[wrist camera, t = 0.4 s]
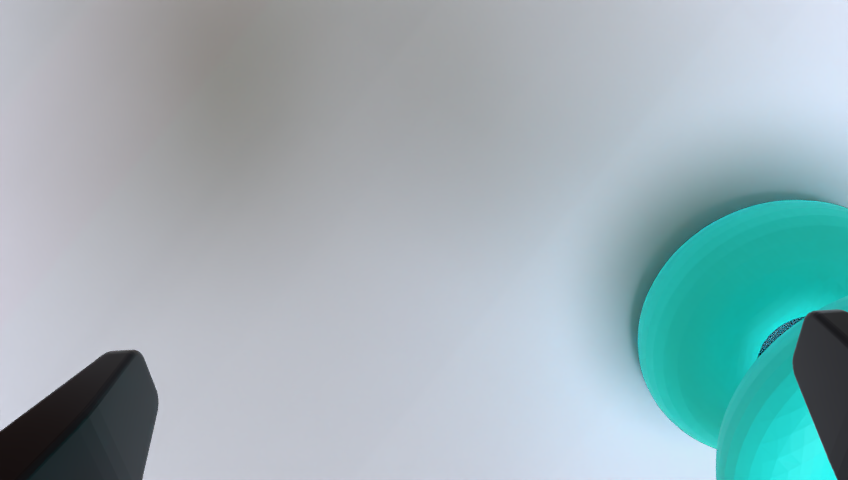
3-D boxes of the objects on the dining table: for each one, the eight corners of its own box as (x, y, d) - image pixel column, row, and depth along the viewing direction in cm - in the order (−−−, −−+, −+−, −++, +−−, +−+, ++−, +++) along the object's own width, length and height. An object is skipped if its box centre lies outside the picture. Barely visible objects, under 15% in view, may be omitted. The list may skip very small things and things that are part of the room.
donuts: (1033, 218, 14) (1242, 488, 16) (786, 132, 24) (942, 311, 26) (663, 502, 16) (892, 702, 19) (574, 319, 26) (733, 468, 28)
